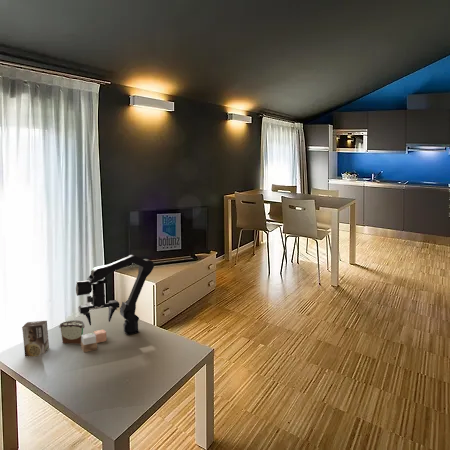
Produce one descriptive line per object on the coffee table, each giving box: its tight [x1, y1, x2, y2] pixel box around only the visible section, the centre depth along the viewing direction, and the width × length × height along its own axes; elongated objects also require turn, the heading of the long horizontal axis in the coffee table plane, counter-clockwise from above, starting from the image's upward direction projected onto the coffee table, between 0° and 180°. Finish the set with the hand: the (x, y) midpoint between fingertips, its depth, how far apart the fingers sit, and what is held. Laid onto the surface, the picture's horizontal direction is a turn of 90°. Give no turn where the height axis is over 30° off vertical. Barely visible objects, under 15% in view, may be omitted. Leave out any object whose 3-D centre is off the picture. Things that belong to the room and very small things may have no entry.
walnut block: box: [80, 341, 98, 353], centre depth 177 cm, size 6×6×4 cm
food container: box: [58, 319, 85, 345], centre depth 185 cm, size 12×6×10 cm, turn 84°
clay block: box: [93, 328, 107, 344], centre depth 187 cm, size 5×5×4 cm
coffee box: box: [21, 320, 50, 357], centre depth 174 cm, size 9×6×16 cm
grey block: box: [81, 332, 96, 345], centre depth 176 cm, size 6×6×3 cm
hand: (99, 323), depth 187 cm, fingers open, 9 cm apart
